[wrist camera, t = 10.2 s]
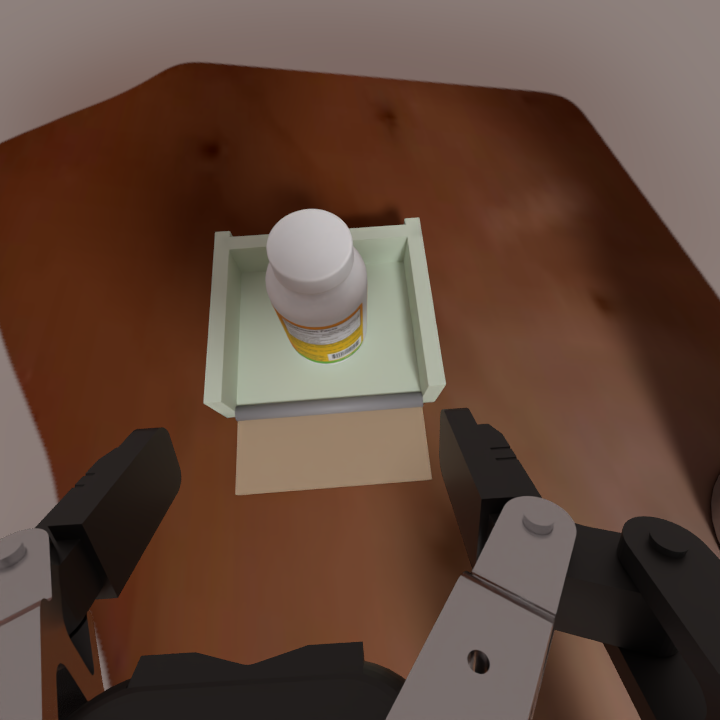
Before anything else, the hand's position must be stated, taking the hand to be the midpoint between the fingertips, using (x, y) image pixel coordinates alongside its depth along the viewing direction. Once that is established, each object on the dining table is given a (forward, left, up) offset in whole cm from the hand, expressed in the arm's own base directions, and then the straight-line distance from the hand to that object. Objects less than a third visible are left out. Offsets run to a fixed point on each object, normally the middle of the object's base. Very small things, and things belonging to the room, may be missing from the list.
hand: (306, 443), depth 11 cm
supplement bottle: (0, -10, -13) cm, 16 cm away
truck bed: (0, -8, -14) cm, 16 cm away
